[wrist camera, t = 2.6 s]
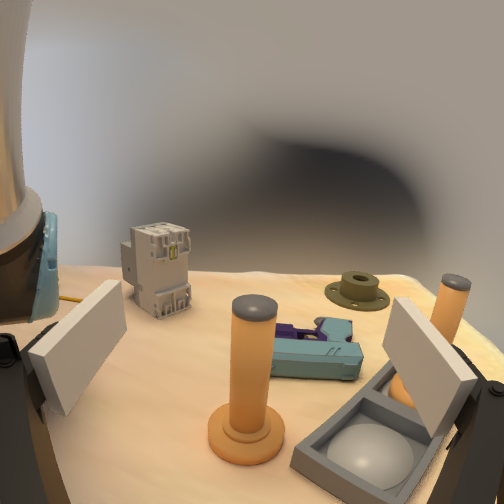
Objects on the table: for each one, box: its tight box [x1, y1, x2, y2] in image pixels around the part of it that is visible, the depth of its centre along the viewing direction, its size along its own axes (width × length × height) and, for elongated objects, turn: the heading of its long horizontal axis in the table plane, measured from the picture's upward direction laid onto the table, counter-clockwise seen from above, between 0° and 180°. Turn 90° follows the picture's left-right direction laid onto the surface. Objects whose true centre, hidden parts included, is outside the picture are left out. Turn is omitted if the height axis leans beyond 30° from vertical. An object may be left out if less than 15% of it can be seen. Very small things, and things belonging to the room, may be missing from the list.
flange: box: [325, 271, 390, 311], centre depth 67 cm, size 5×15×15 cm
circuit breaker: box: [121, 222, 191, 320], centre depth 58 cm, size 8×14×15 cm, turn 50°
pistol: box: [270, 317, 364, 380], centre depth 46 cm, size 4×16×15 cm
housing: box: [290, 360, 444, 504], centre depth 29 cm, size 24×12×4 cm, turn 133°
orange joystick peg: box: [208, 294, 285, 465], centre depth 27 cm, size 8×8×17 cm
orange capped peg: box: [388, 274, 471, 410], centre depth 31 cm, size 8×8×17 cm
